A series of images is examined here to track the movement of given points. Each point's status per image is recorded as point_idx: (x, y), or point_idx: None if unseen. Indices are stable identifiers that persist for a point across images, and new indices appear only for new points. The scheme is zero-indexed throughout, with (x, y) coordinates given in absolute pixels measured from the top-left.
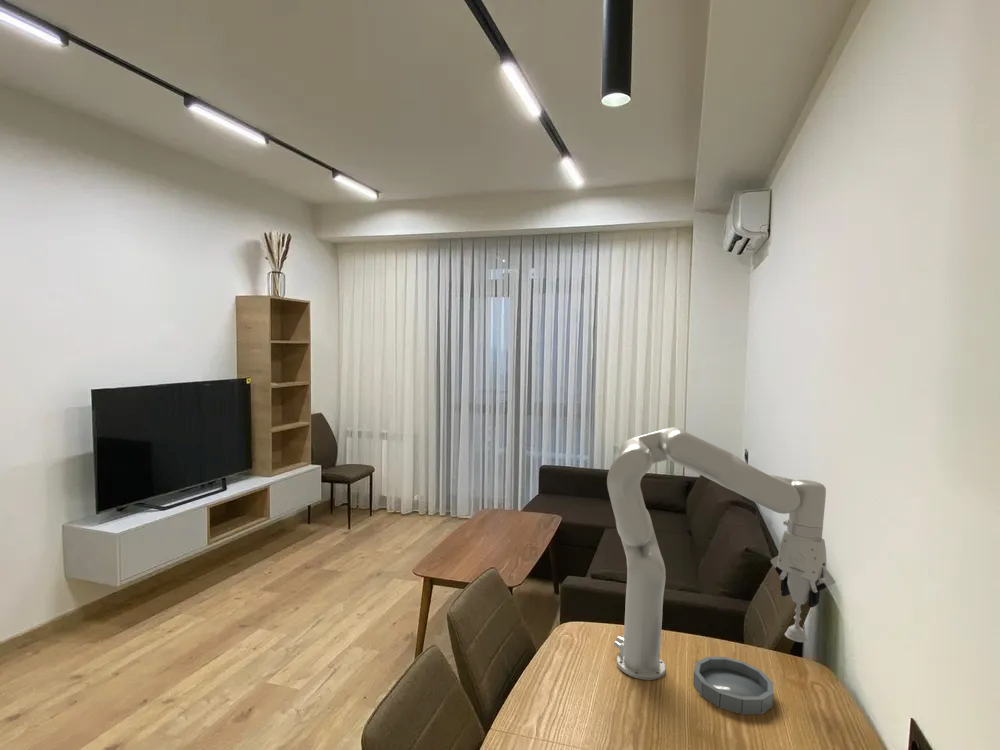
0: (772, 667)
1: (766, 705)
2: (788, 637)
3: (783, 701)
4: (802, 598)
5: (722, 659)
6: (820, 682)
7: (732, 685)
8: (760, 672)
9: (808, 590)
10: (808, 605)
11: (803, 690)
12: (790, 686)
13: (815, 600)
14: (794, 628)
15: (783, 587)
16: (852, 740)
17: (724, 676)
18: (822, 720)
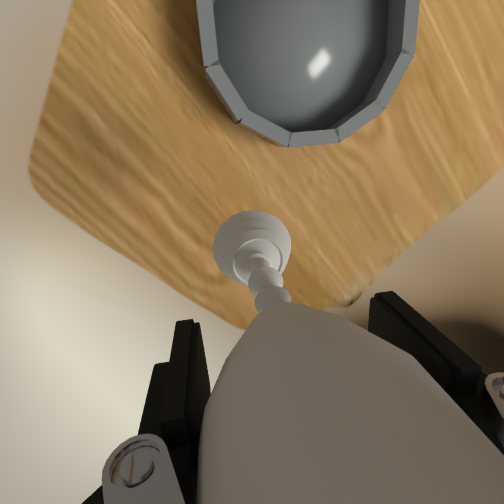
0: (307, 241)
1: (199, 34)
2: (260, 213)
3: (209, 132)
4: (245, 333)
5: (380, 89)
6: (220, 288)
7: (306, 41)
8: (286, 135)
9: (203, 417)
10: (198, 323)
11: (217, 223)
12: (241, 209)
13: (155, 382)
14: (257, 247)
15: (420, 328)
16: (37, 143)
17: (342, 62)
18: (119, 151)
